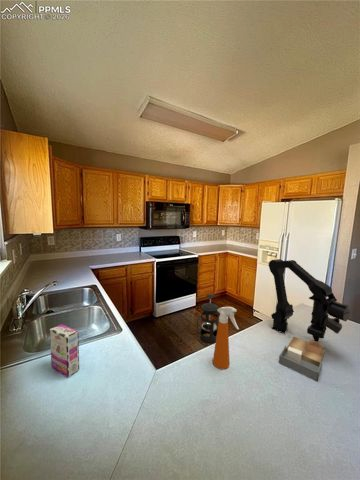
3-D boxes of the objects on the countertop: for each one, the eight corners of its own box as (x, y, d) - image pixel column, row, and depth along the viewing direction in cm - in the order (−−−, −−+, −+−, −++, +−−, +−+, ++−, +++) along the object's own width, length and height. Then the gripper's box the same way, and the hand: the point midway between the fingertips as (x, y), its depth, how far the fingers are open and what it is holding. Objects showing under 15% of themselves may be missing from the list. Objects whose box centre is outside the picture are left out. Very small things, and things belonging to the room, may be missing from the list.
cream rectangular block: (288, 356, 89) (286, 360, 87) (289, 346, 88) (287, 349, 86) (300, 362, 86) (299, 365, 84) (302, 351, 85) (301, 354, 83)
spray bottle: (230, 378, 77) (234, 313, 74) (209, 362, 85) (212, 303, 82) (240, 369, 81) (244, 308, 78) (219, 355, 89) (222, 299, 86)
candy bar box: (80, 369, 79) (79, 330, 77) (68, 378, 74) (66, 337, 73) (63, 359, 84) (61, 323, 82) (50, 367, 80) (48, 328, 78)
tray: (278, 362, 86) (279, 355, 85) (284, 352, 92) (285, 345, 92) (317, 381, 76) (318, 373, 76) (321, 368, 83) (322, 361, 82)
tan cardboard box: (306, 349, 91) (307, 343, 91) (308, 344, 95) (309, 338, 94) (319, 355, 88) (320, 348, 87) (321, 349, 91) (322, 343, 91)
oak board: (285, 353, 92) (286, 348, 92) (293, 340, 101) (293, 336, 101) (319, 368, 83) (320, 362, 83) (324, 353, 93) (324, 348, 92)
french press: (216, 332, 107) (218, 291, 104) (221, 343, 98) (224, 298, 95) (194, 333, 106) (196, 291, 103) (198, 344, 96) (200, 299, 94)
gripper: (340, 325, 81) (336, 360, 83) (343, 310, 95) (339, 340, 97) (308, 315, 89) (305, 348, 90) (315, 303, 102) (312, 331, 104)
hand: (316, 342), depth 95 cm, fingers closed
